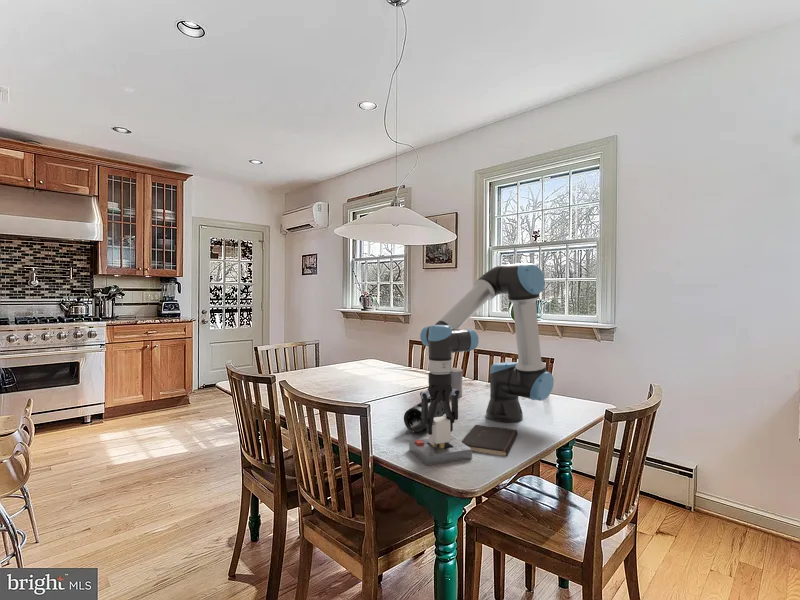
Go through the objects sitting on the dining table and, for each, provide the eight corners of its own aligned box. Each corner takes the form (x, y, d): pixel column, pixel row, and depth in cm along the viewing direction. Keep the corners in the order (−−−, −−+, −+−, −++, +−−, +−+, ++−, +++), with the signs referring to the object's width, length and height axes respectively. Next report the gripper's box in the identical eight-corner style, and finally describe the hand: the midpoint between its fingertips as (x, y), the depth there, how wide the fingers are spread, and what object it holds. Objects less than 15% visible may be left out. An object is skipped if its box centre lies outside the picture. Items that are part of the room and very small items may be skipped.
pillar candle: (439, 394, 222) (439, 366, 221) (455, 392, 226) (456, 364, 225) (449, 399, 213) (449, 369, 212) (466, 397, 217) (466, 367, 217)
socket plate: (451, 443, 152) (451, 433, 151) (472, 458, 138) (472, 446, 138) (409, 450, 146) (409, 438, 146) (426, 465, 133) (426, 453, 133)
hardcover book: (458, 450, 147) (459, 443, 147) (475, 430, 168) (475, 424, 168) (506, 458, 140) (506, 451, 140) (517, 436, 161) (517, 429, 161)
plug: (443, 442, 145) (443, 416, 145) (450, 447, 141) (450, 420, 140) (429, 444, 143) (429, 417, 143) (436, 450, 139) (436, 422, 139)
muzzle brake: (402, 433, 163) (402, 406, 163) (430, 414, 188) (430, 390, 188) (426, 437, 159) (426, 409, 159) (451, 416, 184) (451, 392, 184)
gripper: (419, 376, 135) (419, 450, 135) (469, 372, 141) (469, 442, 142) (410, 372, 142) (410, 442, 142) (458, 368, 148) (458, 435, 149)
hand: (439, 442), depth 142 cm, fingers closed on plug, 5 cm apart
